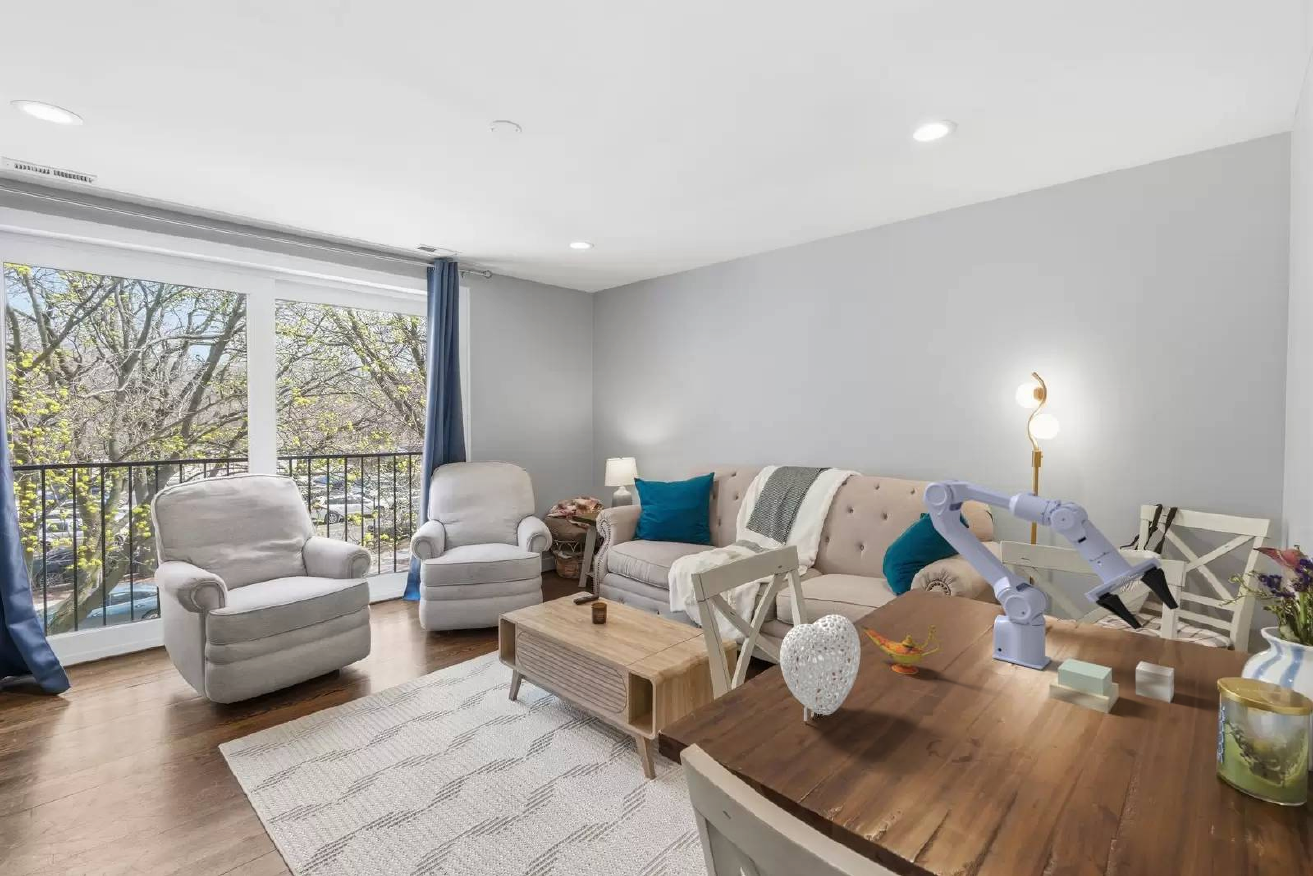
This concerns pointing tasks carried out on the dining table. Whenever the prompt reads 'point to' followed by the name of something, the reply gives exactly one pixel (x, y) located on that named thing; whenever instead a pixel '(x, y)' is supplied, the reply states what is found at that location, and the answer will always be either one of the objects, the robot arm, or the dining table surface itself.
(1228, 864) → the dining table surface
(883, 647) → the magic lamp
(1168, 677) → the ivory cube
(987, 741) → the dining table surface
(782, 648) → the decorative heart
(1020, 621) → the robot arm
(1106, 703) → the birch slab
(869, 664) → the dining table surface
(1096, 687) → the sage block
